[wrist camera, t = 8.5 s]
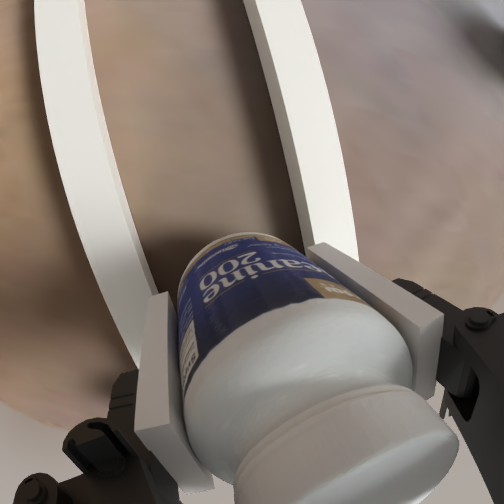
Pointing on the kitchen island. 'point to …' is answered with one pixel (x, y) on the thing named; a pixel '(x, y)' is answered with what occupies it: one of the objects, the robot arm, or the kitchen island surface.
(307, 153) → the guide track
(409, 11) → the kitchen island surface
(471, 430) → the robot arm
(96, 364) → the kitchen island surface
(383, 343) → the pill bottle
